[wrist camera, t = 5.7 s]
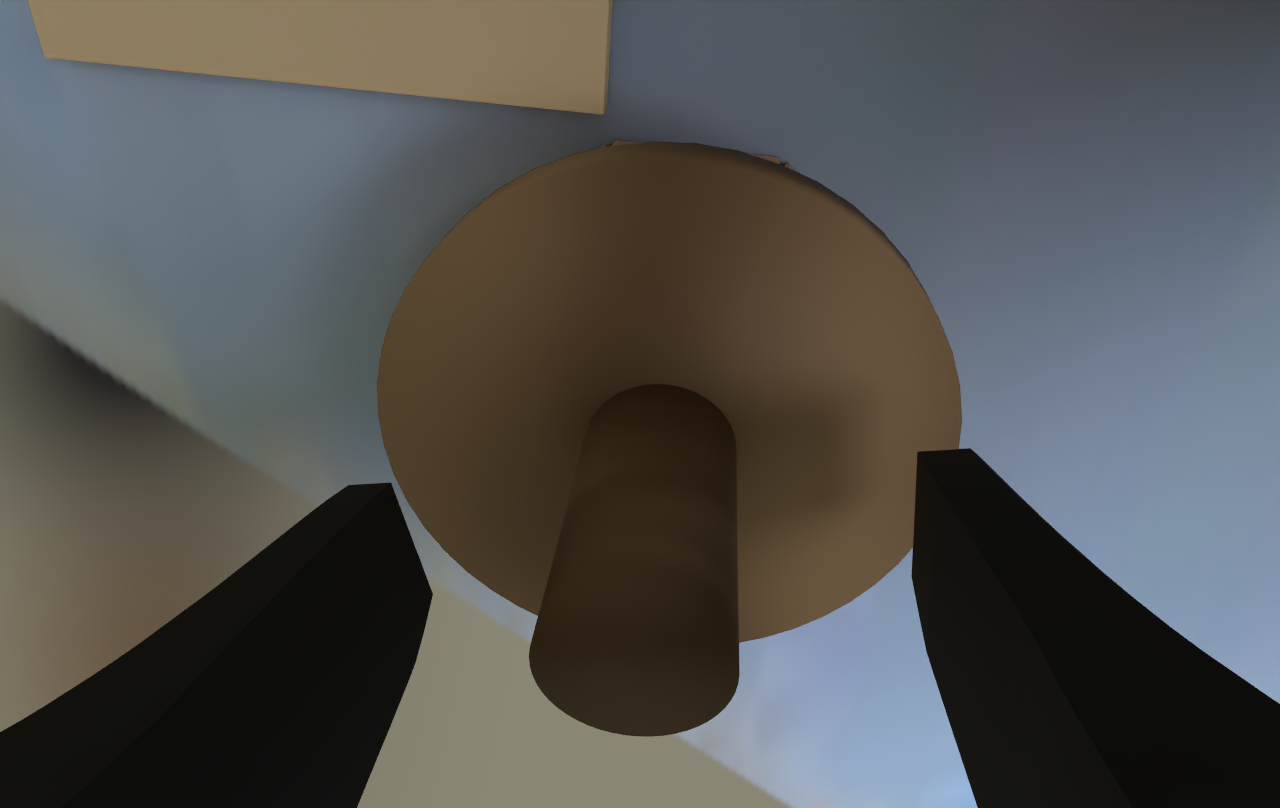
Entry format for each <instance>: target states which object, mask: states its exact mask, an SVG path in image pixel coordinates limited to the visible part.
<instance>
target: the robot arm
mask: <svg viewBox="0 0 1280 808" xmlns="http://www.w3.org/2000/svg"><path fill="white" fill-rule="evenodd" d="M912 581H913V586H914V591H915V596H916V602H917V607H918V612H919V617H920V622H921V627H922V632H923V636H924V641H925V646H926V651H927V654H928V657H929V661H930V664H931V667H932V670H933V673H934V676H935V679H936V682H937V685H938V688H939V692H940V695H941V698H942V701H943V704H944V707H945V710H946V713H947V716H948V719H949V722H950V725H951V728H952V731H953V734H954V737H955V740H956V743H957V746H958V749H959V752H960V755H961V758H962V761H963V764H964V767H965V770H966V773H967V777H968V780H969V783H970V786H971V789H972V792H973V795H974V798H975V801H976V804H977V807H978V808H1280V704H1279V703H1277V702H1276V701H1274V700H1273V699H1271V698H1270V697H1268V696H1267V695H1266V694H1264V693H1263V692H1261V691H1260V690H1258V689H1257V688H1255V687H1254V686H1253V685H1251V684H1250V683H1248V682H1247V681H1245V680H1244V679H1242V678H1241V677H1240V676H1238V675H1237V674H1235V673H1234V672H1232V671H1231V670H1229V669H1228V668H1227V667H1225V666H1224V665H1222V664H1221V663H1219V662H1218V661H1216V660H1215V659H1213V658H1212V657H1211V656H1209V655H1208V654H1206V653H1205V652H1203V651H1202V650H1201V649H1199V648H1198V647H1197V646H1195V645H1194V644H1193V643H1191V642H1190V641H1188V640H1187V639H1186V638H1184V637H1183V636H1182V635H1180V634H1179V633H1178V632H1176V631H1175V630H1174V629H1172V628H1171V627H1170V626H1168V625H1167V624H1166V623H1165V622H1163V621H1162V620H1161V619H1160V618H1158V617H1157V616H1156V615H1155V614H1153V613H1152V612H1151V611H1149V610H1148V609H1147V608H1146V607H1144V606H1143V605H1142V604H1141V603H1139V602H1138V601H1137V600H1136V599H1134V598H1133V597H1132V596H1131V595H1129V594H1128V593H1127V592H1126V591H1125V590H1123V589H1122V588H1121V587H1120V586H1119V585H1117V584H1116V583H1115V582H1114V581H1113V580H1112V579H1110V578H1109V577H1108V576H1107V575H1106V574H1104V573H1103V572H1102V571H1101V570H1100V569H1099V568H1098V567H1096V566H1095V565H1094V564H1093V563H1092V562H1091V561H1090V560H1089V559H1087V558H1086V557H1085V556H1084V555H1083V554H1082V553H1081V552H1080V551H1078V550H1077V549H1076V548H1075V547H1074V546H1073V545H1072V544H1070V543H1069V542H1068V541H1067V540H1066V539H1065V538H1064V537H1063V536H1061V535H1060V534H1059V533H1058V532H1057V531H1056V530H1055V529H1054V528H1053V527H1052V526H1051V525H1050V524H1049V523H1047V522H1046V521H1045V520H1044V519H1043V518H1042V517H1041V516H1040V515H1039V514H1038V513H1037V512H1036V511H1035V510H1034V509H1033V508H1032V507H1031V506H1030V505H1028V504H1027V503H1026V502H1025V501H1024V500H1023V499H1022V498H1021V497H1020V496H1019V495H1018V494H1017V493H1016V492H1015V491H1014V490H1013V489H1012V488H1011V487H1010V486H1009V485H1008V484H1007V483H1006V482H1005V481H1004V480H1003V479H1002V478H1001V477H1000V476H999V475H998V474H997V473H996V472H995V471H994V470H993V469H992V468H991V467H990V466H989V465H988V464H987V463H986V462H985V461H984V460H982V459H981V458H980V457H979V456H978V455H977V454H976V453H975V452H974V451H973V450H971V449H953V450H936V451H919V452H917V470H916V492H915V514H914V537H913V559H912ZM432 595H433V593H432V591H431V588H430V585H429V583H428V580H427V577H426V575H425V572H424V569H423V567H422V564H421V561H420V559H419V556H418V553H417V551H416V548H415V545H414V543H413V540H412V537H411V535H410V532H409V530H408V527H407V524H406V522H405V519H404V516H403V514H402V511H401V508H400V506H399V503H398V500H397V498H396V495H395V492H394V490H393V487H392V484H391V483H378V484H361V485H348V486H347V487H345V488H344V489H342V490H341V491H339V492H338V493H336V494H335V495H334V496H332V497H331V498H329V499H328V500H327V501H325V502H324V503H323V504H321V505H320V506H319V507H317V508H316V509H315V510H313V511H312V512H311V513H309V514H308V515H307V516H306V517H304V518H303V519H302V520H301V521H299V522H298V523H297V524H295V525H294V526H293V527H292V528H290V529H289V530H288V531H286V532H285V533H284V534H283V535H281V536H280V537H279V538H278V539H276V540H275V541H274V542H273V543H271V544H270V545H269V546H268V547H266V548H265V549H264V550H262V551H261V552H260V553H259V554H257V555H256V556H255V557H254V558H252V559H251V560H250V561H249V562H247V563H246V564H245V565H244V566H242V567H241V568H240V569H238V570H237V571H236V572H235V573H233V574H232V575H231V576H230V577H228V578H227V579H226V580H224V581H223V582H222V583H221V584H220V585H218V586H217V587H216V588H214V589H213V590H211V591H210V592H209V593H207V594H206V595H205V596H203V597H202V598H201V599H199V600H198V601H197V602H196V603H194V604H193V605H191V606H190V607H188V608H187V609H186V610H184V611H183V612H182V613H180V614H179V615H178V616H176V617H175V618H174V619H172V620H171V621H169V622H168V623H167V624H165V625H164V626H163V627H161V628H160V629H159V630H157V631H156V632H155V633H153V634H152V635H151V636H149V637H148V638H146V639H145V640H144V641H143V642H141V643H140V644H138V645H137V646H135V647H134V648H132V649H131V650H130V651H128V652H127V653H125V654H124V655H122V656H121V657H119V658H118V659H117V660H115V661H114V662H112V663H111V664H109V665H108V666H106V667H105V668H103V669H102V670H100V671H99V672H97V673H96V674H94V675H93V676H91V677H90V678H88V679H86V680H85V681H83V682H82V683H80V684H79V685H77V686H76V687H74V688H72V689H71V690H69V691H68V692H66V693H64V694H63V695H61V696H60V697H58V698H57V699H55V700H53V701H52V702H50V703H49V704H47V705H46V706H44V707H43V708H41V709H39V710H37V711H36V712H34V713H33V714H31V715H29V716H28V717H26V718H24V719H23V720H21V721H19V722H17V723H16V724H14V725H12V726H10V727H9V728H7V729H5V730H3V731H2V732H0V808H357V806H358V803H359V801H360V799H361V796H362V794H363V791H364V789H365V786H366V784H367V782H368V779H369V777H370V774H371V772H372V769H373V767H374V765H375V762H376V760H377V757H378V755H379V752H380V750H381V747H382V745H383V742H384V740H385V738H386V735H387V733H388V730H389V728H390V726H391V723H392V721H393V718H394V716H395V713H396V711H397V708H398V706H399V703H400V701H401V698H402V696H403V693H404V691H405V688H406V686H407V683H408V681H409V678H410V675H411V673H412V670H413V668H414V665H415V662H416V659H417V655H418V651H419V647H420V644H421V640H422V637H423V633H424V629H425V625H426V621H427V616H428V612H429V608H430V604H431V599H432Z"/></svg>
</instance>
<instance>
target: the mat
mask: <svg viewBox="0 0 1280 808" xmlns="http://www.w3.org/2000/svg"><path fill="white" fill-rule="evenodd" d="M28 3H29V6H30V10H31V13H32V17H33V20H34V23H35V27H36V30H37V33H38V37H39V40H40V43H41V47H42V50H43V54H44V57H45V58H53V59H63V60H73V61H82V62H92V63H102V64H112V65H122V66H131V67H141V68H151V69H161V70H171V71H180V72H190V73H200V74H210V75H220V76H229V77H239V78H249V79H259V80H269V81H278V82H288V83H298V84H308V85H318V86H327V87H337V88H347V89H357V90H367V91H376V92H386V93H396V94H406V95H416V96H426V97H435V98H445V99H455V100H465V101H475V102H484V103H494V104H504V105H514V106H524V107H533V108H543V109H553V110H563V111H573V112H582V113H592V114H602V115H603V114H604V112H605V110H606V109H607V101H608V82H609V63H610V44H611V26H612V7H613V0H28Z"/></svg>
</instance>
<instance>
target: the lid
mask: <svg viewBox="0 0 1280 808" xmlns="http://www.w3.org/2000/svg"><path fill="white" fill-rule="evenodd" d="M377 388H378V415H379V421H380V426H381V431H382V437H383V442H384V446H385V449H386V452H387V455H388V458H389V461H390V464H391V467H392V470H393V473H394V475H395V477H396V479H397V481H398V483H399V485H400V487H401V489H402V491H403V493H404V495H405V498H406V500H407V502H408V503H409V505H410V506H411V508H412V509H413V511H414V512H415V514H416V515H417V517H418V518H419V520H420V521H421V523H422V524H423V526H424V527H425V528H426V529H427V531H428V532H429V533H430V534H431V535H432V536H433V538H434V539H435V540H436V541H437V542H438V543H439V545H440V546H441V547H442V548H443V549H444V550H445V551H446V552H447V553H448V554H449V555H450V556H451V557H452V558H453V559H454V560H455V561H456V562H457V563H458V564H460V565H461V566H462V567H463V568H464V569H465V570H466V571H467V572H468V573H470V574H471V575H472V576H474V577H475V578H476V579H478V580H479V581H480V582H482V583H483V584H484V585H486V586H487V587H488V588H490V589H491V590H492V591H494V592H496V593H497V594H499V595H501V596H502V597H504V598H506V599H507V600H509V601H510V602H512V603H514V604H515V605H517V606H519V607H521V608H523V609H525V610H527V611H529V612H531V613H533V614H535V615H538V619H537V623H536V626H535V630H534V634H533V638H532V642H531V645H530V652H529V661H530V668H531V671H532V675H533V677H534V679H535V681H536V683H537V685H538V687H539V688H540V689H541V691H542V692H543V694H544V695H545V696H546V697H547V698H548V699H549V700H550V701H551V702H552V703H553V704H554V705H555V706H556V707H558V708H559V709H560V710H562V711H563V712H564V713H566V714H568V715H569V716H571V717H573V718H574V719H576V720H578V721H580V722H582V723H585V724H587V725H589V726H592V727H595V728H597V729H600V730H604V731H608V732H612V733H617V734H622V735H630V736H663V735H669V734H675V733H679V732H683V731H687V730H690V729H692V728H695V727H698V726H700V725H702V724H704V723H706V722H708V721H709V720H711V719H712V718H714V717H715V716H716V715H718V714H719V713H720V712H721V711H722V710H723V709H724V708H725V707H726V706H727V705H728V703H729V702H730V701H731V699H732V697H733V696H734V694H735V692H736V689H737V686H738V681H739V642H744V641H749V640H754V639H760V638H764V637H768V636H771V635H774V634H778V633H781V632H784V631H788V630H791V629H794V628H797V627H799V626H801V625H804V624H806V623H809V622H811V621H814V620H816V619H818V618H821V617H823V616H825V615H827V614H829V613H831V612H832V611H834V610H836V609H838V608H840V607H842V606H843V605H845V604H847V603H849V602H851V601H852V600H853V599H855V598H856V597H858V596H859V595H861V594H862V593H863V592H865V591H866V590H868V589H869V588H871V587H872V586H873V585H875V584H876V583H877V582H878V581H880V580H881V579H882V578H883V577H884V576H885V575H886V574H887V573H888V572H890V571H891V570H892V569H893V568H894V567H895V566H896V565H897V564H898V563H899V562H900V561H901V560H902V559H903V558H904V557H905V555H906V554H907V553H908V552H909V551H910V550H911V548H912V547H913V537H914V514H915V492H916V470H917V452H919V451H936V450H953V449H959V441H960V432H961V423H962V414H961V395H960V384H959V380H958V375H957V371H956V366H955V361H954V357H953V352H952V350H951V347H950V345H949V342H948V340H947V337H946V335H945V332H944V330H943V327H942V325H941V322H940V320H939V318H938V316H937V314H936V312H935V310H934V308H933V306H932V304H931V302H930V300H929V298H928V296H927V293H926V292H925V290H924V288H923V287H922V285H921V283H920V282H919V280H918V278H917V277H916V275H915V273H914V272H913V270H912V268H911V267H910V265H909V263H908V262H907V260H906V259H905V258H904V257H903V255H902V254H901V253H900V252H899V251H898V249H897V248H896V247H895V246H894V245H893V243H892V242H891V241H890V240H889V239H888V237H887V236H886V235H885V234H884V233H883V231H881V230H880V229H879V228H878V227H877V226H876V225H875V224H874V223H872V222H871V221H870V220H869V219H868V218H867V217H866V216H865V215H864V214H862V213H861V212H860V211H859V210H858V209H857V208H856V207H855V206H853V205H852V204H851V203H849V202H848V201H846V200H845V199H843V198H841V197H840V196H838V195H837V194H835V193H834V192H832V191H831V190H829V189H828V188H826V187H825V186H823V185H822V184H820V183H819V182H817V181H815V180H813V179H811V178H808V177H806V176H804V175H802V174H800V173H798V172H796V171H794V170H792V169H790V168H787V167H785V166H783V165H781V164H778V163H775V162H772V161H769V160H766V159H763V158H760V157H756V156H753V155H750V154H747V153H744V152H741V151H736V150H731V149H725V148H719V147H714V146H708V145H702V144H696V143H672V142H645V143H635V144H624V145H613V146H607V147H603V148H599V149H595V150H590V151H586V152H582V153H577V154H573V155H569V156H567V157H564V158H561V159H559V160H556V161H554V162H551V163H548V164H546V165H543V166H541V167H538V168H535V169H533V170H531V171H529V172H527V173H526V174H524V175H522V176H520V177H518V178H517V179H515V180H513V181H511V182H509V183H508V184H506V185H504V186H502V187H501V188H499V189H497V190H496V191H495V192H493V193H492V194H491V195H490V196H488V197H487V198H486V199H484V200H483V201H482V202H480V203H479V204H478V205H477V206H475V207H474V208H473V209H471V210H470V211H469V212H468V213H467V214H466V215H465V216H464V217H463V218H462V219H461V220H460V221H459V222H458V223H457V224H456V225H455V226H454V227H453V228H452V230H451V231H450V232H449V233H448V234H447V235H446V236H445V237H444V238H443V239H442V240H441V242H440V243H439V244H438V245H437V246H436V248H435V249H434V250H433V251H432V252H431V254H430V255H429V256H428V257H427V258H426V260H425V261H424V262H423V264H422V265H421V267H420V268H419V270H418V271H417V273H416V274H415V275H414V277H413V278H412V280H411V281H410V283H409V284H408V286H407V287H406V288H405V290H404V292H403V295H402V297H401V299H400V301H399V303H398V305H397V307H396V309H395V311H394V313H393V315H392V318H391V320H390V323H389V327H388V330H387V333H386V337H385V340H384V344H383V347H382V351H381V358H380V366H379V374H378V382H377Z"/></svg>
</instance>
